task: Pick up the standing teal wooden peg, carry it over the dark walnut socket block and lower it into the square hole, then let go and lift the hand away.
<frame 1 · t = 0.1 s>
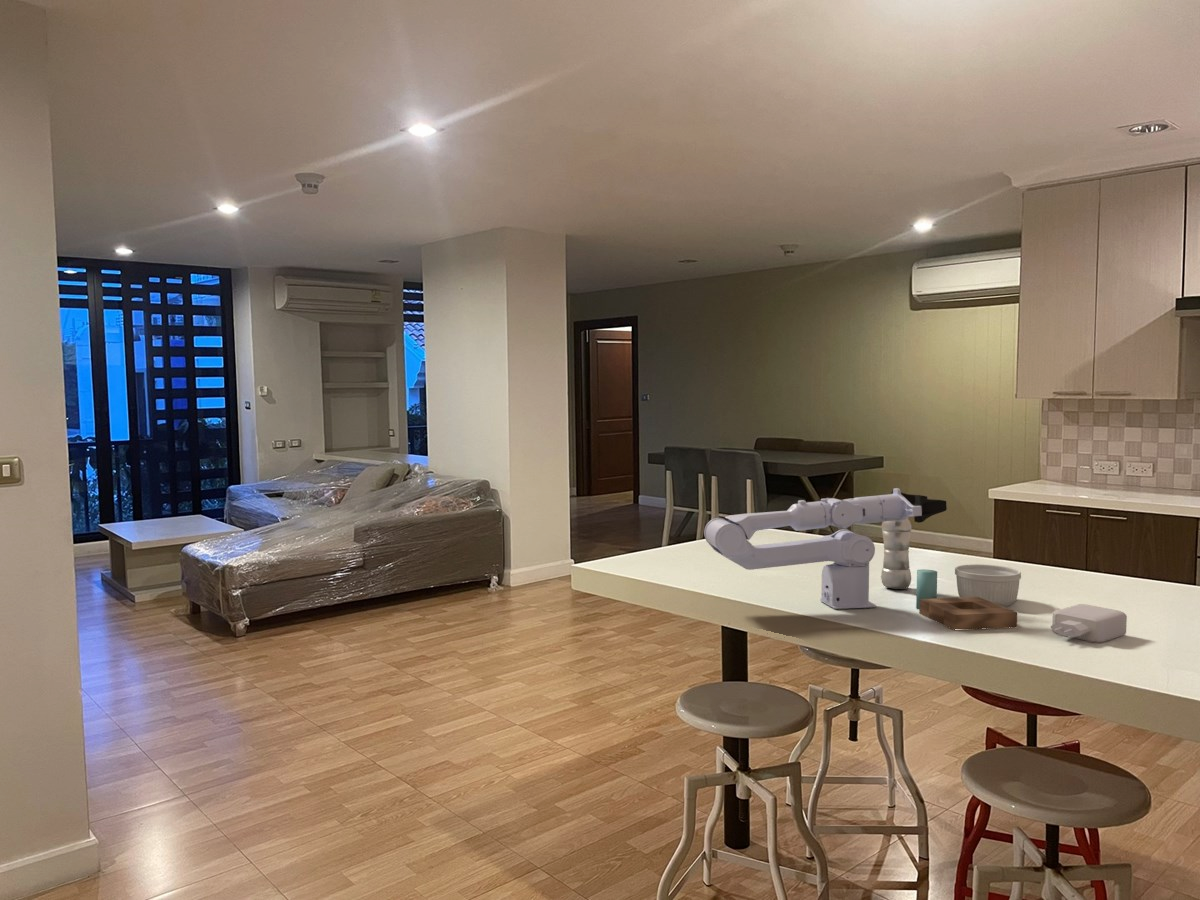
hand: (936, 503, 185), 22 cm above the table, tool horizontal, fingers open, 7 cm apart
plastic bottle: (895, 589, 199), on the table
socket: (966, 620, 170), on the table
peg: (926, 608, 179), on the table
charger: (1080, 639, 158), on the table
ramekin: (986, 601, 187), on the table
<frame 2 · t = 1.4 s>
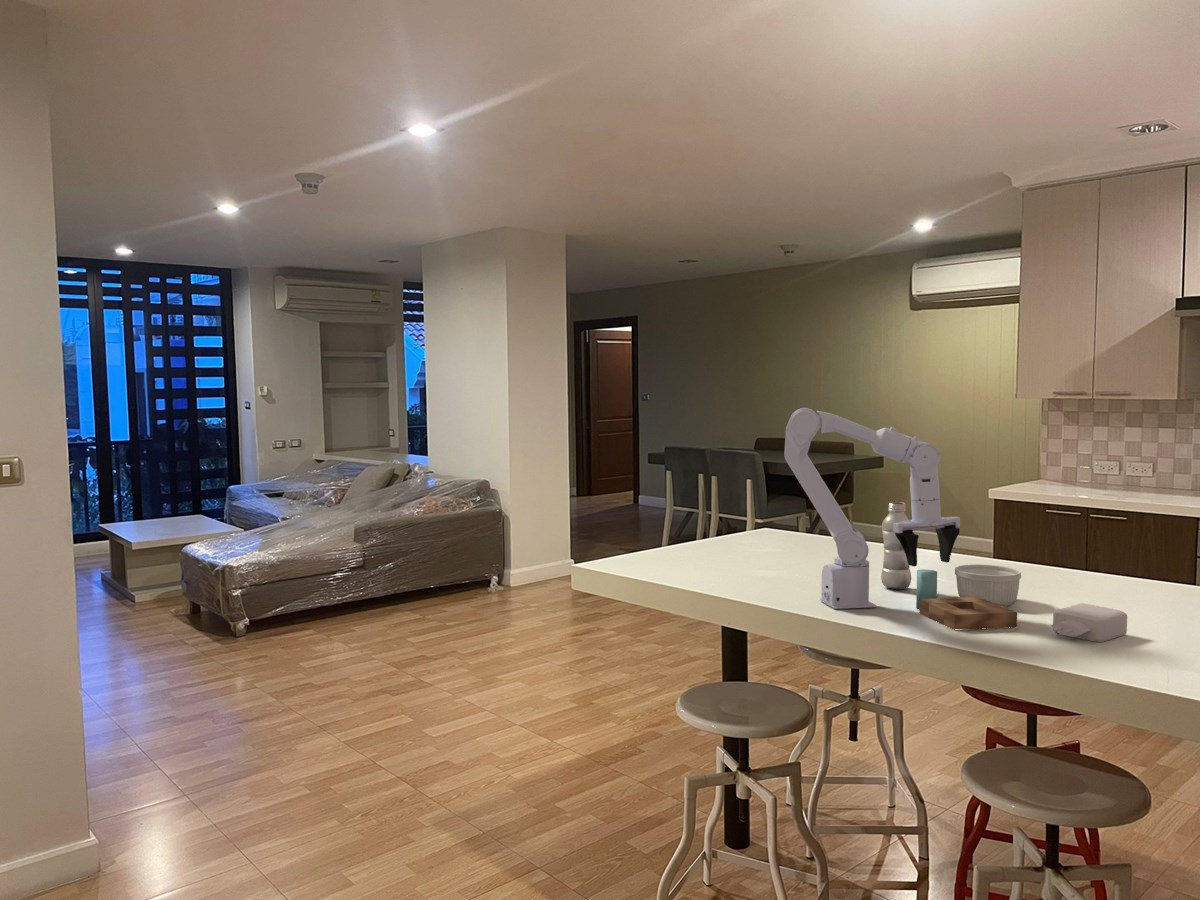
hand: (928, 563, 179), 10 cm above the table, tool pointing down, fingers open, 7 cm apart
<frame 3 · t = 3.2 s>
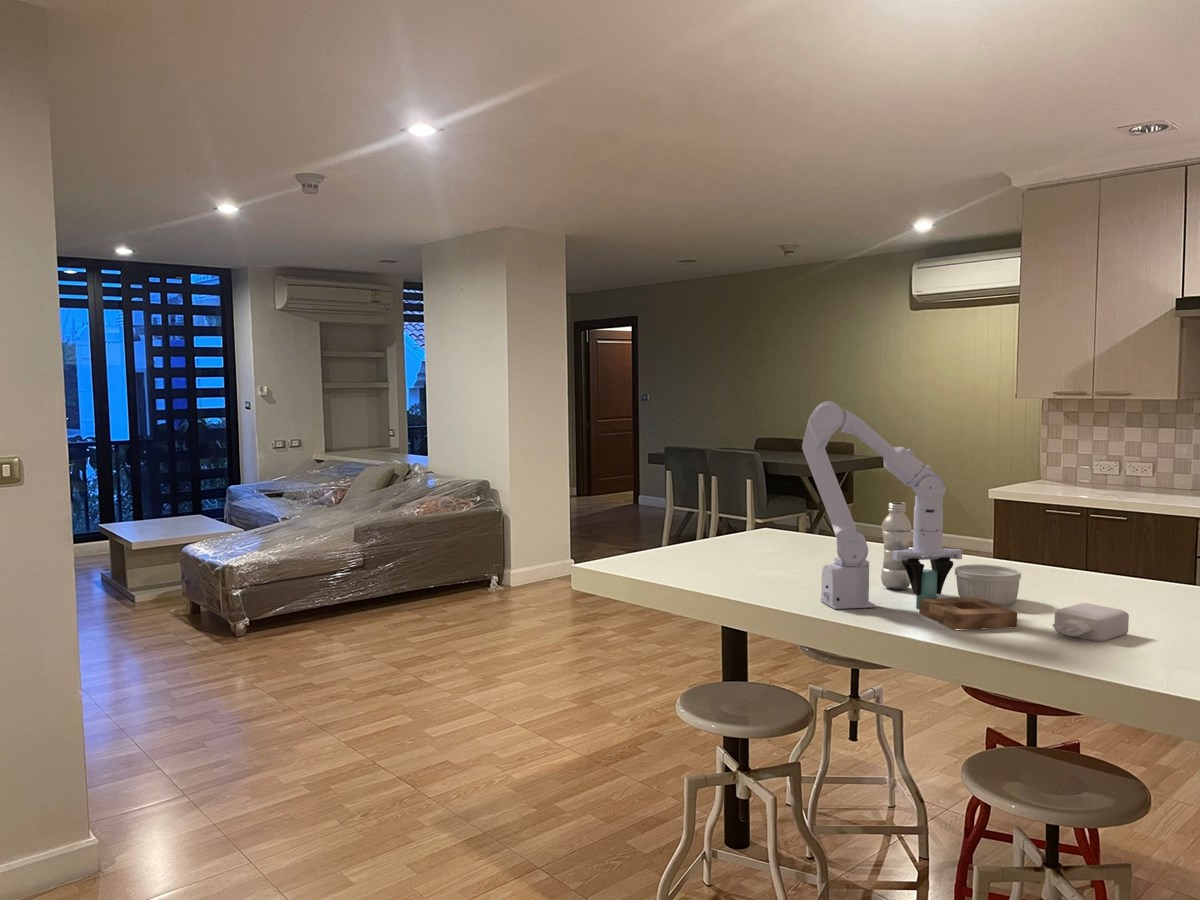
hand: (926, 593, 179), 3 cm above the table, tool pointing down, fingers closed on peg, 4 cm apart
peg: (926, 608, 179), on the table, touching gripper
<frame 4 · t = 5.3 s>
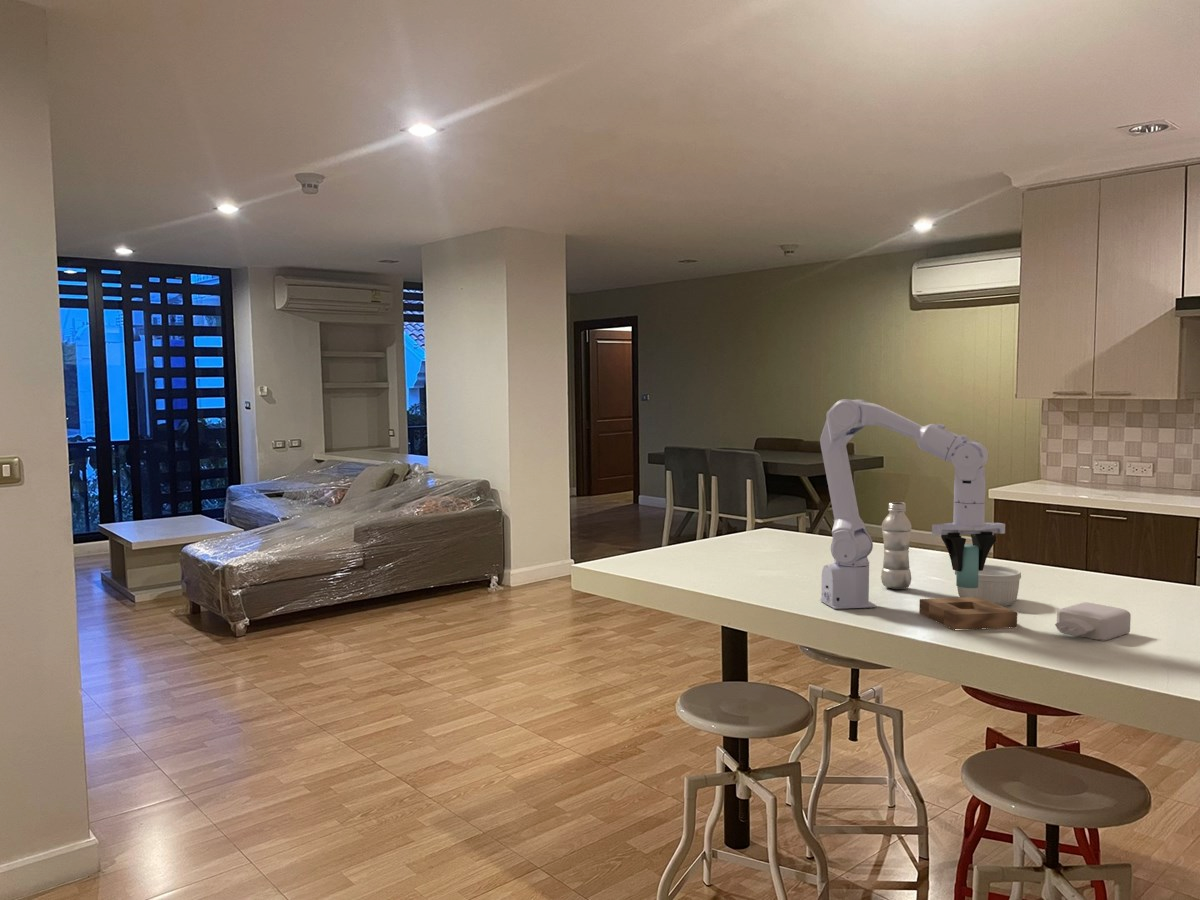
hand: (967, 570, 169), 10 cm above the table, tool pointing down, fingers closed on peg, 4 cm apart
peg: (967, 586, 170), point 7 cm above the table, touching gripper
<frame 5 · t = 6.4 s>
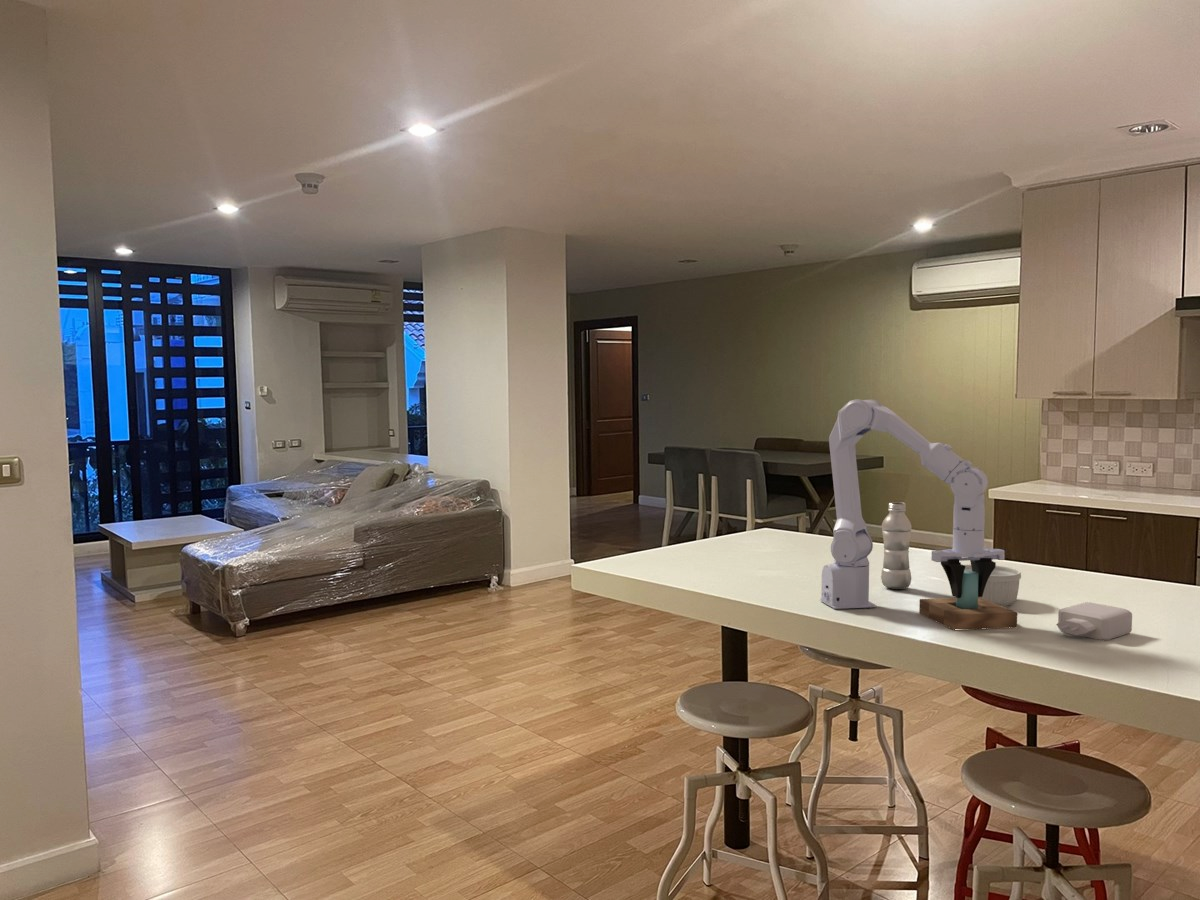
hand: (967, 596, 170), 5 cm above the table, tool pointing down, fingers closed on peg, 4 cm apart
peg: (966, 612, 170), point 2 cm above the table, touching gripper
when the fingers open (4 cm above the table, at t = 7.4 s): peg drops 1 cm, resting in socket.
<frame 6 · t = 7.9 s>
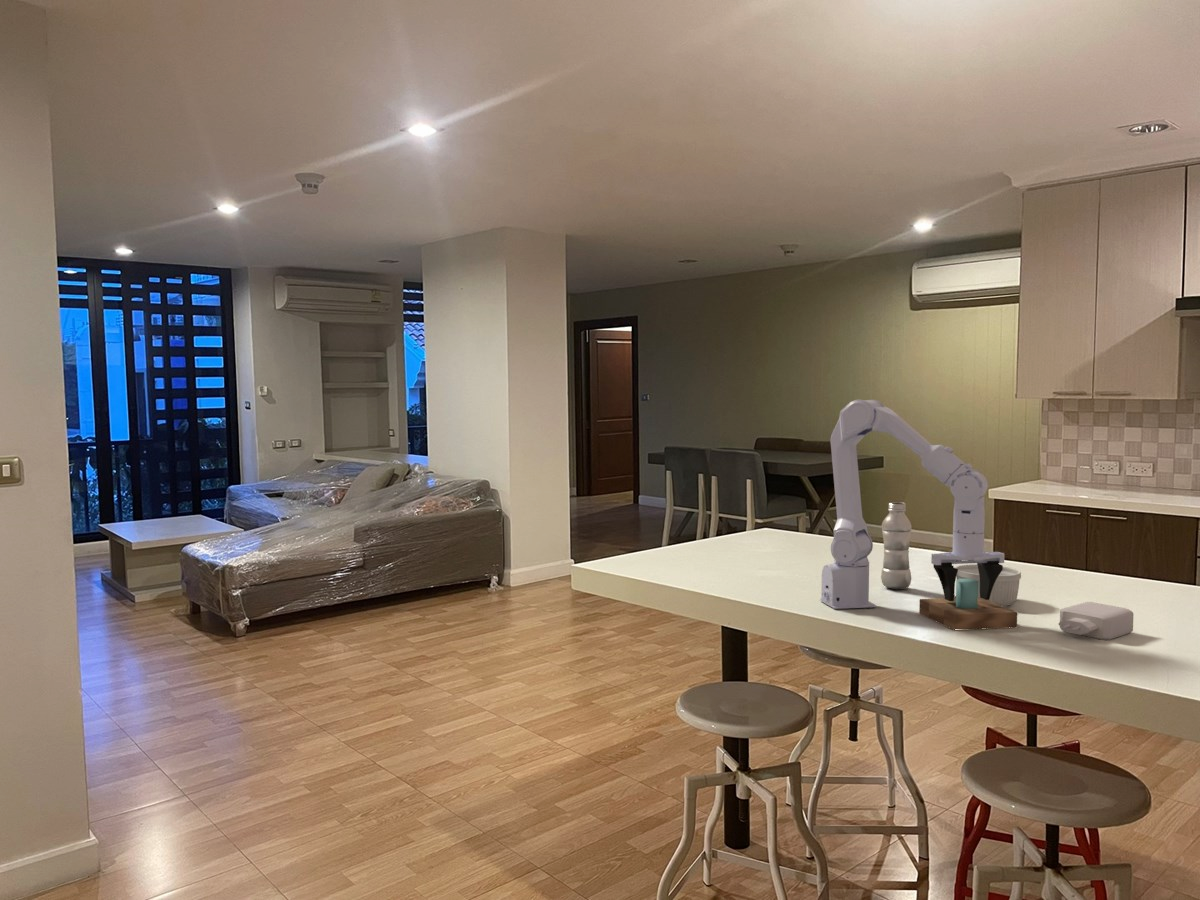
hand: (967, 599, 170), 4 cm above the table, tool pointing down, fingers open, 7 cm apart
peg: (966, 620, 170), resting in socket
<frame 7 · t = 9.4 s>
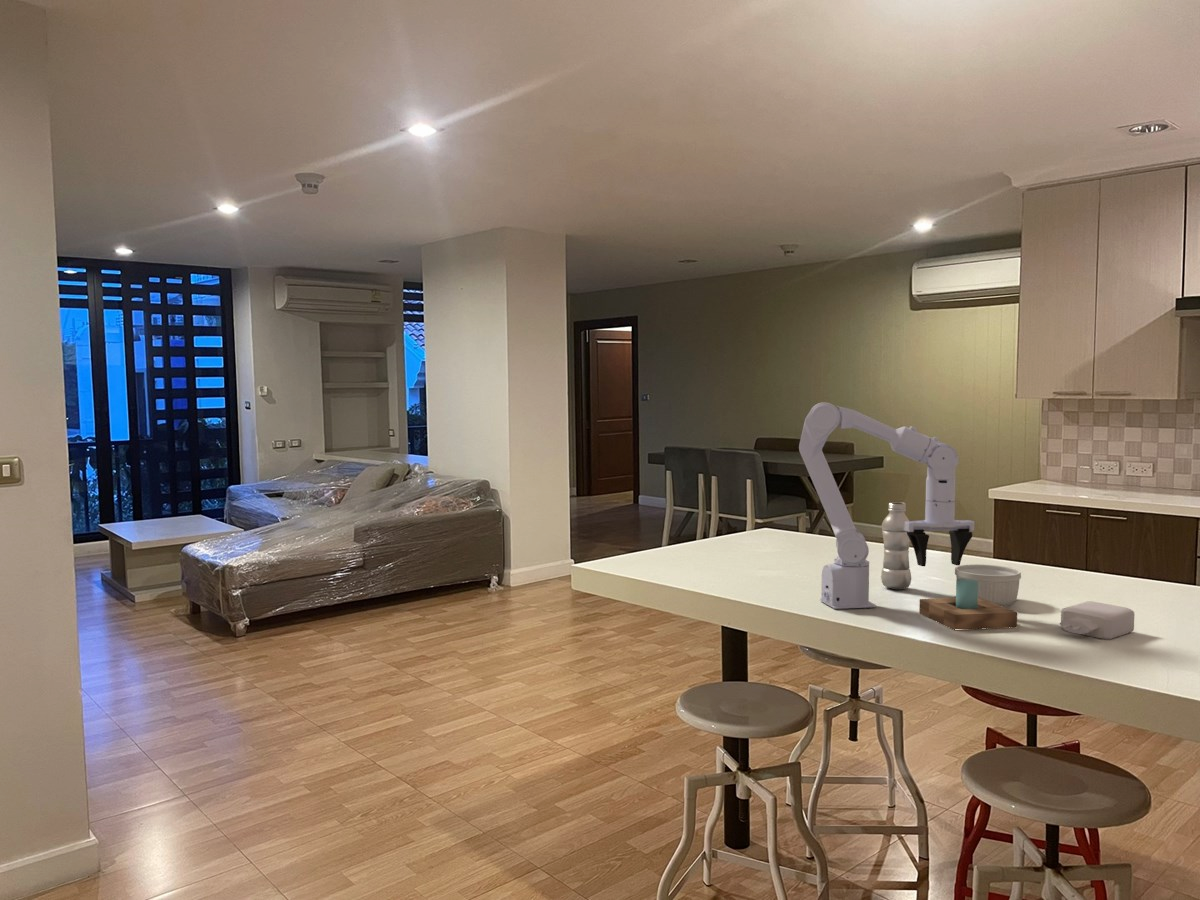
hand: (938, 565, 179), 9 cm above the table, tool pointing down, fingers open, 7 cm apart
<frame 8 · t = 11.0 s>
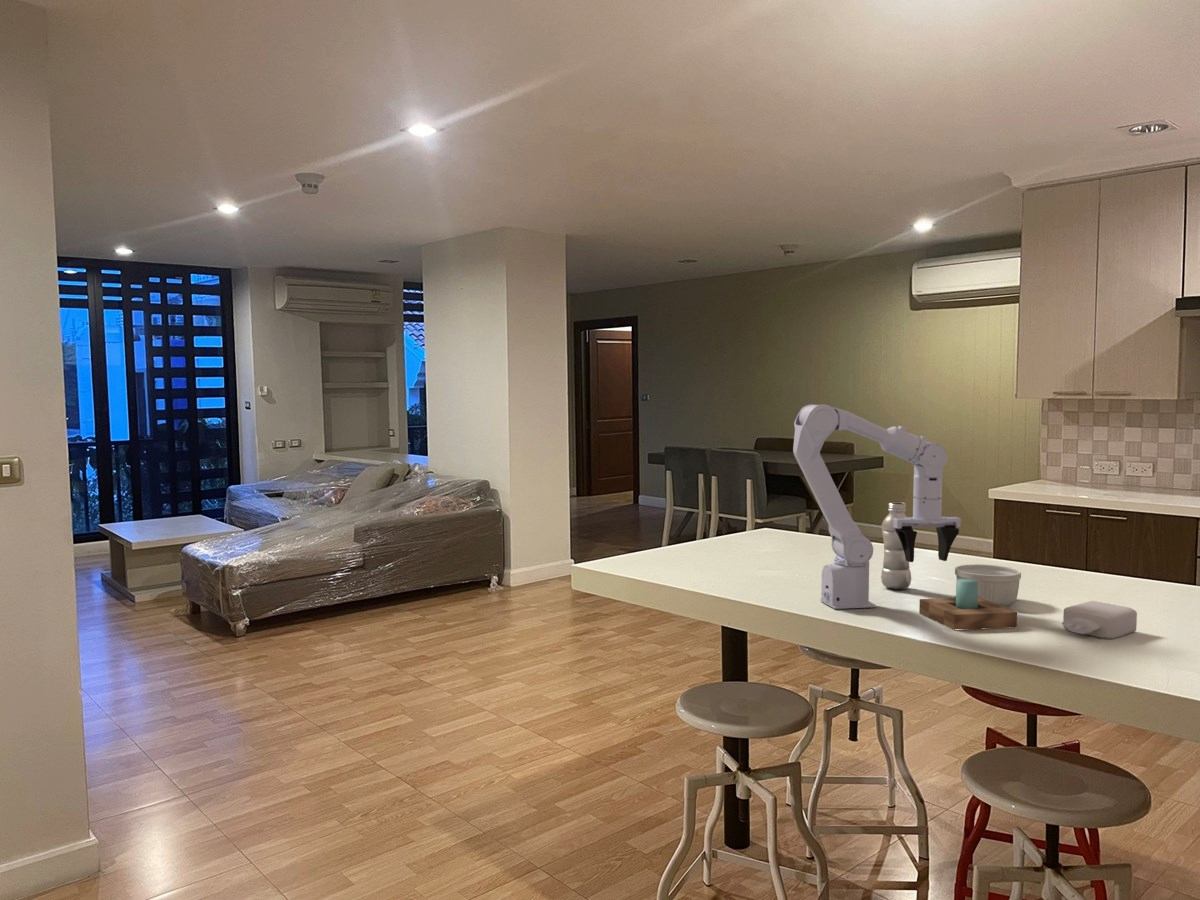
hand: (926, 560, 183), 9 cm above the table, tool pointing down, fingers open, 7 cm apart
at the end: peg 0.1 cm off-centre on the socket, point 0.0 cm above the socket's base; peg tilted 0°; the gripper is holding nothing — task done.
